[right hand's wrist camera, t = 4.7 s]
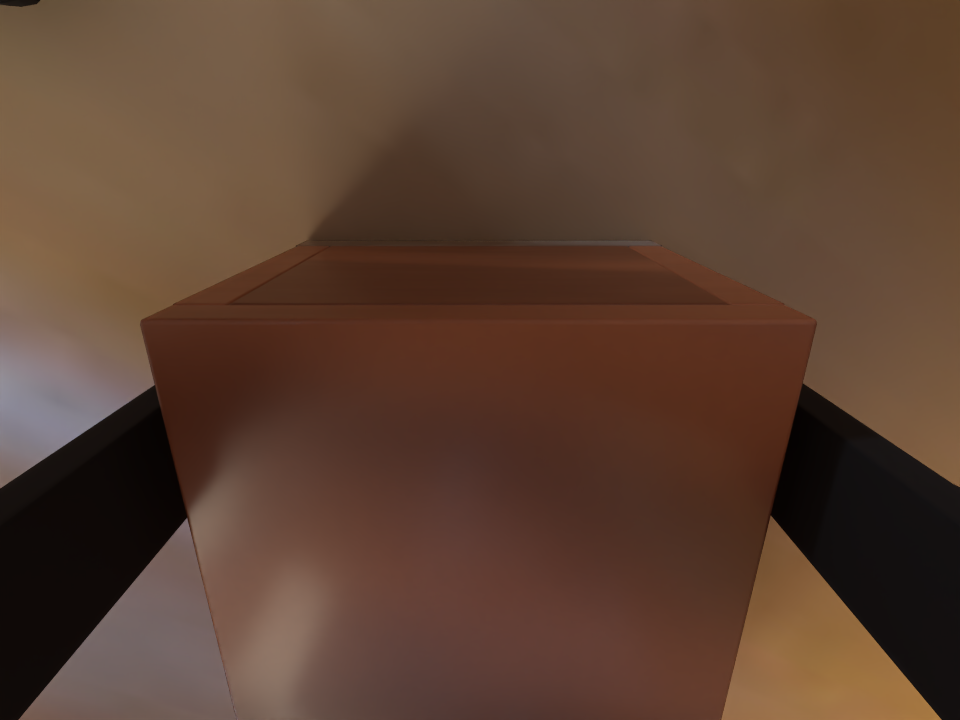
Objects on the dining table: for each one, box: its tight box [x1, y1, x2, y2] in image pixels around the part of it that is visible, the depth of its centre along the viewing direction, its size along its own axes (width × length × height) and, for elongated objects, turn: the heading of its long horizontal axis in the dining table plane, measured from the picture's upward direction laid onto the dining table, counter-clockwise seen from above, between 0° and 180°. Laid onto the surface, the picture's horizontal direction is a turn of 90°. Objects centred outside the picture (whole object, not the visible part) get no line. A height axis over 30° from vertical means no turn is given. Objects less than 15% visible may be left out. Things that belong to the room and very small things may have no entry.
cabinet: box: [140, 241, 817, 720], centre depth 16 cm, size 20×11×9 cm, turn 0°
